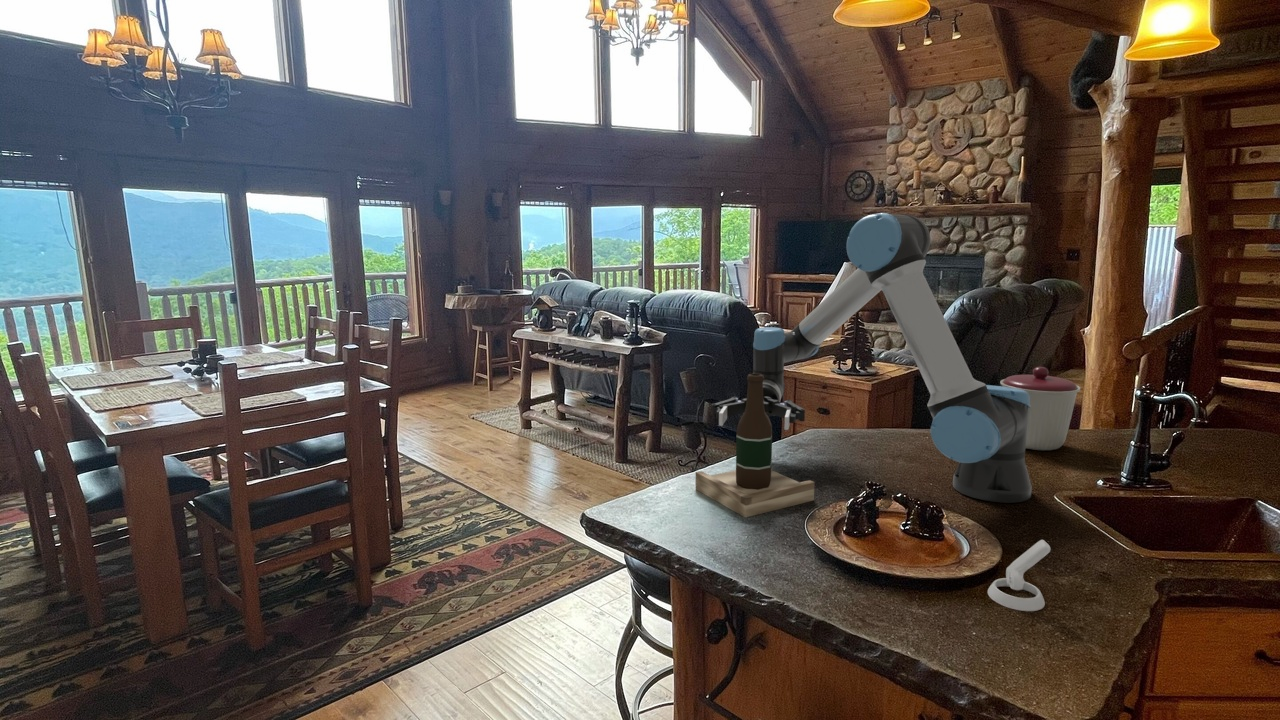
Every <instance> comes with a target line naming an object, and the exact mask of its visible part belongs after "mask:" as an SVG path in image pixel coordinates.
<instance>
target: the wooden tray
mask: <svg viewBox="0 0 1280 720" xmlns="http://www.w3.org/2000/svg"><path fill="white" fill-rule="evenodd" d="M695 490H696V491H698V493H699V492H700V493H701V494H702V495H705V496H707V497H708V498H710V499H711V500H713V501H715V502H717V503H718V504H721V505H723V506H724V507H726V508H728V509H730V510H731V511H733V512H735V513H736V514H738V515H740V516H741V517H743V518H749V517H754V516H758V515H760V514H764V513H765V514H766V513H769V512H774V511H776V510H777V511H778V510H781V509H785V508H789V507H793V506H796V505H801V504H805V503H810V502H813V501H814V500H815V481H813V480H811V479H809V480H804V481H797V480H795V479H793V478H790V477H788V476H786V475H783V474H781V473H779V472H777V471H774V470H772V469H771V481H770V485H769V487H767V488H763V489H759V490H757V489H746V488H743V487H741V486H739V485H737V483H736V469H735V470H731V471H725V472H722V473H716V474H711V475H710V474H707V473H706V472H704V471H703V470H700V471H699V470H698V471H696V472H695Z"/></svg>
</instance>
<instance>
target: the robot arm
mask: <svg viewBox="0 0 1280 720" xmlns="http://www.w3.org/2000/svg"><path fill="white" fill-rule="evenodd" d="M845 246H846V253H847V257H848V259H849V261H850V262H851V264H852V265H853V266H854V267H855V268H856V269H855V270H854V271H853V272H852V273H851V274H850V275H849V276H848V277H846V279H845V280H844V281H842V282H841V284H839V285H838V287H836V288H835V289H834V290H833V291H832V292H831V293H830V294H829V295H828V296H826V297H825V299H824V300H822V302H820V303H819V304H818V305H816V307H815V308H814V309H813V310H812V311H811V312H810V313H809V314H808V315H807V316H805V318H803V320H801V321H800V322H799V324H797V325H795V327H794V328H793V329H791V331H787V332H785V330H784V328H781V327H771V326H766V327H759V328H756V329H755V331H754V334H753V335H754V337H753V343H752V347H753V355H752V356H753V360H752V361H753V366H752V367H753V368H752V369H753V371H752V374H753V373H757V374H762V375H763V376H764V381H763V399H764V409H765V413H766V414H767V416H768V417H769V418H770V416H772V417H779V418H783V419H784V428H783V429H784V430H785V431H789V429H790V424H794V423H796V421H797V420H798V421H799V422H805V421H806V418H805V417H806V409H805V408H803V407H802V406H800V405H798V404H796V403H794V402H793V401H792V399H786V400H784V402H781V399H782V398H783V396H784V393H785V382H784V371H785V364H786V363H790V362H794V361H795V362H796V361H798V360H799V361H800V360H807V359H809V358H810V357H812V356H815V355H816V354H817V353H818V352H819V349H820V346H821V344H823V342H825V340H827V339H828V337H830V336H831V335H833V333H835V332H836V331H837V330H838V329H839V328H841V326H842V325H844V323H846V322H847V321H848V320H849V319H850V318H851V317H852V316H854V315H855V314H856V313H857V312H859V311H860V310H861V309H862V308H863V307H864V306H866V304H867V303H868V302H870V301H871V300H872V299H873V298H874V297H875V296H876V295H878V294H879V293H880V292H881V291H882V293H883V295H884V297H885V299H886V301H887V302H886V303H888V306H889V308H890V310H891V312H892V314H893V316H894V318H895V321H896V323H897V325H898V328H899V330H900V332H901V334H902V336H903V338H904V341H905V342H906V344H907V345H906V346H907V347H908V349H909V352H910V353H911V356H912V357H913V360H914V362H915V364H916V366H917V369H918V371H919V372H920V374H921V377H922V379H923V381H924V383H925V386H926V387H927V391H928V392H929V395H930V396H929V400H928V402H927V405H926V406H927V409H928V411H929V413H930V415H931V417H932V423H931V425H930V437H931V440H932V443H933V444H934V446H935V447H936V449H937V450H938V451H939V452H940V453H941V454H943V455H944V456H945V457H947V458H948V459H950V460H952V461H954V462H957V463H958V465H957V467H956V470H955V472H954V474H953V477H952V478H953V479H952V486H953V489H955V490H956V491H957V492H959V493H960V494H962V495H965V496H967V497H970V498H973V499H977V500H981V501H986V502H991V503H992V502H993V503H1001V504H1002V503H1003V504H1009V503H1010V504H1011V503H1012V504H1013V503H1022V502H1026V501H1028V500H1030V499H1031V497H1032V483H1031V478H1030V476H1029V471H1028V468H1027V463H1026V460H1025V457H1026V456H1025V455H1026V438H1027V428H1028V417H1029V409H1030V396H1029V394H1028V393H1027V392H1026V391H1024V390H1021V389H1015V388H1009V387H1003V386H1002V385H991V384H986V383H985V382H982V381H979V380H977V379H975V378H974V377H973V375H972V372H971V370H970V369H969V366H968V364H967V362H966V360H965V358H964V356H963V354H962V352H961V349H960V347H959V346H958V344H957V341H956V339H955V337H954V335H953V333H952V330H951V329H950V326H949V324H948V323H947V321H946V319H945V317H944V314H943V312H942V311H941V308H940V306H939V304H938V302H937V300H936V298H935V296H934V294H933V291H932V289H931V286H929V283H928V281H927V279H926V277H925V275H924V272H923V271H924V269H925V266H926V264H927V261H926V256H927V254H928V252H929V249H930V246H931V233H930V231H929V228H928V226H927V225H926V224H925V222H923V221H922V220H921V219H920V218H919V217H916V216H914V215H911V214H894V213H893V214H889V213H886V212H879V213H873V214H869V215H866V216H864V217H862V218H861V219H859V220H858V221H857V222H856V223H855V224H854V225H853V226H852V227H851V229H850V231H849V234H848V236H847V239H846V245H845ZM746 401H747V397H746V398H742V399H741V400H739V398H738V396H732V397H731V398H728V399H726V400H721V401H718V402H715V403H712V404H711V416H713V417H716V419H718V426H719V427H720V426H721V427H723V425H724V424H725V423H726V421H727V420H728V417H729V416H735V415H740V414H742V415H743V414H744V412H745V409H746ZM943 455H942V456H943Z"/></svg>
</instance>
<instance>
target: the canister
mask: <svg viewBox="0 0 1280 720" xmlns="http://www.w3.org/2000/svg"><path fill="white" fill-rule="evenodd" d="M999 383H1000V386H1001V387H1009V388H1015V389H1021V390H1024V391H1026V392H1027V393H1028V394H1029V396H1030V409H1029V417H1028V428H1027V438H1026V449H1027V450H1033V451H1053V450H1054V451H1055V450H1059V449H1060V448H1061V447H1062V446H1063V445H1064V444H1065V442H1066V439H1067V436H1068V432H1069V429H1070V424H1071V420H1072V416H1073V411H1074V407H1075V403H1076V400H1077V394H1078V393H1079V392H1080V391H1081V389H1082V388H1081V386H1079V385H1078V384H1076V383H1075V382H1073V381H1071V380H1069V379H1066V378H1063V377H1058V376H1051V375H1049V370H1048V368H1047V367H1046V366H1045V367H1044V366H1035V368H1033V369H1032V374H1016V375H1015V374H1014V375H1010V376H1008V377H1006V378H1004V379H1001V380H1000V382H999ZM1026 449H1025V450H1026Z"/></svg>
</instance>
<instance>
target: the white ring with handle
mask: <svg viewBox="0 0 1280 720" xmlns="http://www.w3.org/2000/svg"><path fill="white" fill-rule="evenodd" d="M1051 550H1052V549H1051V546H1050V545H1049V543H1047V542H1046V541H1045V540H1044V539H1040V540H1038V541H1037V542H1036V543H1034V544H1033V545H1032V546H1030V548H1028V549H1027V550H1026V551H1025V552H1023V553H1022V554H1021V555H1020V556H1019V557H1017V558H1016V559H1014V560H1013V561H1012V562H1011V563H1010V564H1009V565H1008V566H1007V567H1006V570H1005V577H1003V578H998V579H995V580H994V581H993V582H991V584H990V586H989V587H988V589H987V595H988V597H989V598H990V599H991V600H992V601H994V602H995V603H997V604H998V605H1001V606H1004V607H1006V608H1008V609H1011V610H1012V609H1013V610H1015V611H1023V612H1035V611H1039V610H1042V609H1044V608H1045V604H1046V602H1045V599H1044V596H1043V594H1042V592H1041V590H1040V588H1038V587H1037V586H1036V585H1033V584H1032V583H1029V582H1027V581H1025V579H1024V574H1025V573H1026V572H1027V571H1028V570H1029V569H1030V568H1032V567H1034V566H1035V564H1037V563H1038V562H1040V561H1041V560H1042V559H1044V558H1045V557H1046V556H1048V554H1049V553H1051ZM999 587H1000V588H1001V587H1010V589H1012V590H1014V591H1022V590H1024V591H1027V592H1029V593H1030V594H1032V595H1035V596H1033V597H1018V596H1014V595H1010V594H1008V593H1006V592H1003V591H1001V590H1000V589H999Z"/></svg>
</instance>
